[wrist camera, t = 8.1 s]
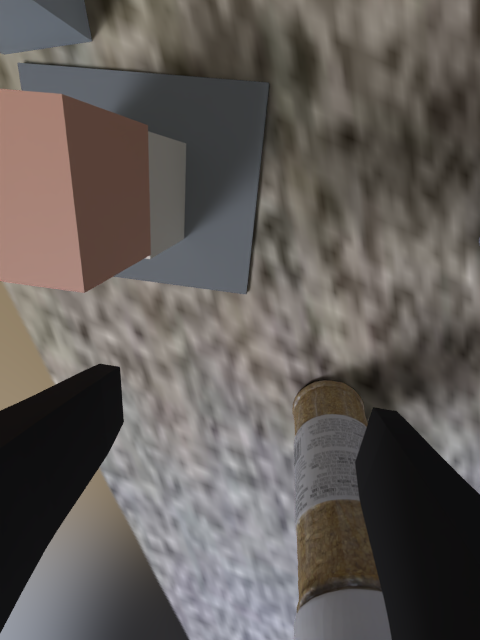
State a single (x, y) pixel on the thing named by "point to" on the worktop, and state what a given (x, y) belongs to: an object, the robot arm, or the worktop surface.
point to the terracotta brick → (70, 191)
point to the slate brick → (42, 24)
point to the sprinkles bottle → (333, 520)
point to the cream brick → (166, 192)
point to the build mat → (187, 160)
